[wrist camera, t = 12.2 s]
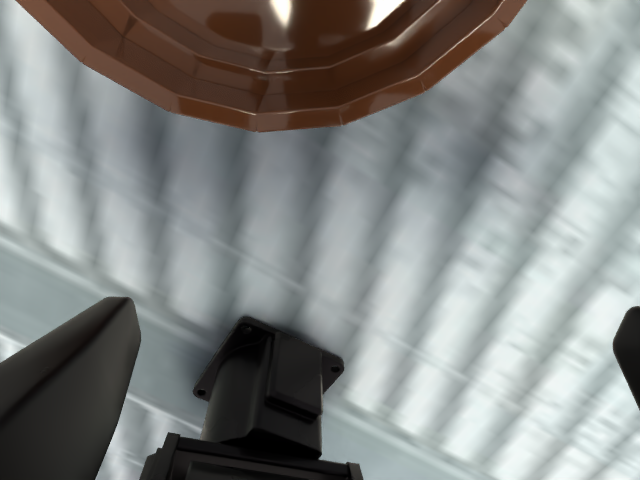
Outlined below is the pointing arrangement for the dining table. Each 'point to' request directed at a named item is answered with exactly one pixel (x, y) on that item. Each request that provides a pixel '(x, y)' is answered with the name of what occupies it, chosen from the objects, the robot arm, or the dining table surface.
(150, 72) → the bowl
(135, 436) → the dining table surface
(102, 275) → the dining table surface
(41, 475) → the robot arm
